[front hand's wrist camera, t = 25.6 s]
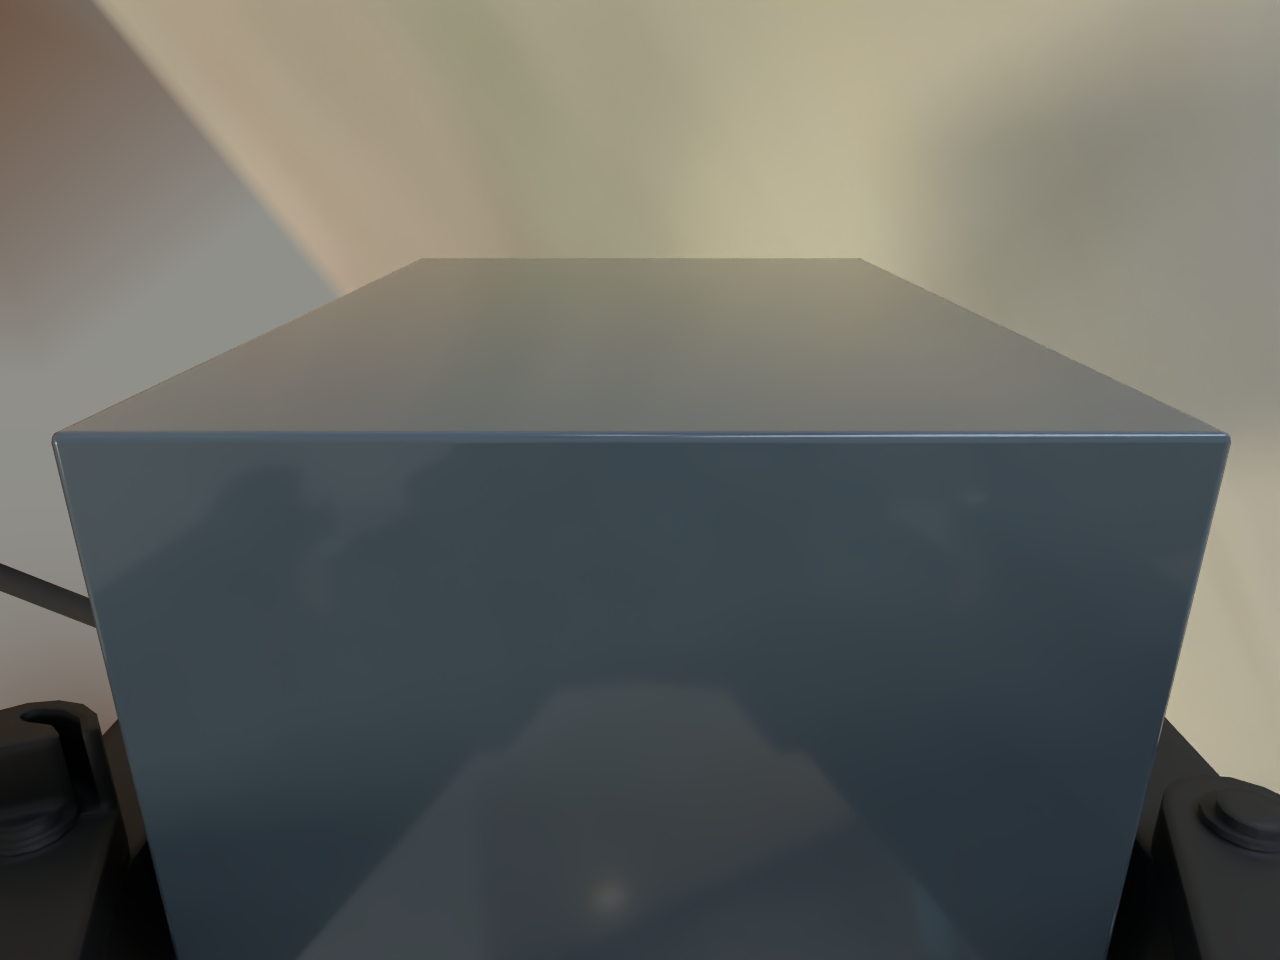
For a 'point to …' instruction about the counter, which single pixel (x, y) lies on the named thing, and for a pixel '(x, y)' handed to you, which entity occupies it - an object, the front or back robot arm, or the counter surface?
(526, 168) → the counter surface
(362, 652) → the block
